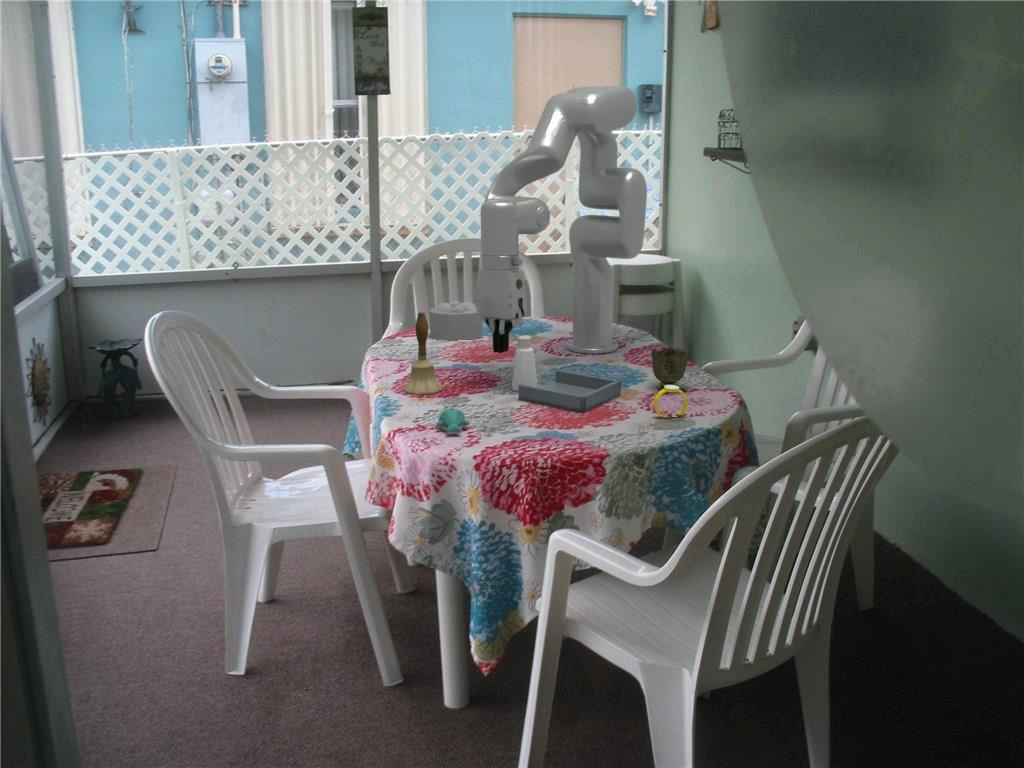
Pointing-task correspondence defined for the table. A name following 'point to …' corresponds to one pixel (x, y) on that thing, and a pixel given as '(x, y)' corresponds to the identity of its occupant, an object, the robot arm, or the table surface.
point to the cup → (669, 365)
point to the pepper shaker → (524, 364)
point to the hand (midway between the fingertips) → (500, 351)
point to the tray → (572, 391)
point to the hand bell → (422, 364)
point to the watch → (670, 389)
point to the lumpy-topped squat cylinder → (455, 322)
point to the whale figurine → (452, 421)
